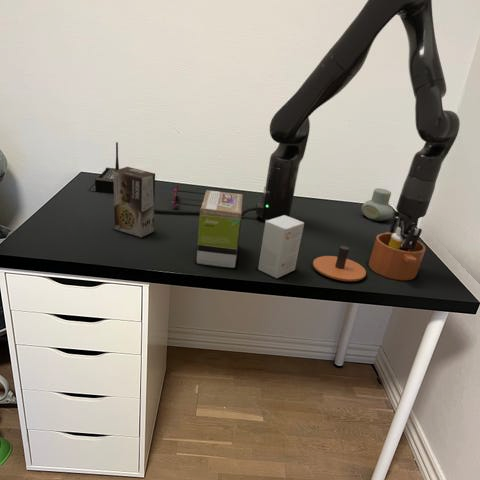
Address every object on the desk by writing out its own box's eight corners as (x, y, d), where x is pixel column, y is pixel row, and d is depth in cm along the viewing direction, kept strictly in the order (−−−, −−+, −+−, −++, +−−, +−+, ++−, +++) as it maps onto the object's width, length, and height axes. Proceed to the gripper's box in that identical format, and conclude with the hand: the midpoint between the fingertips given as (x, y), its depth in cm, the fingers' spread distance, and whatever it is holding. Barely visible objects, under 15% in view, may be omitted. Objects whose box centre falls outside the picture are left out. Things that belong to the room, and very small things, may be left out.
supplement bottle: (394, 269, 126) (406, 234, 121) (379, 261, 130) (389, 226, 125) (407, 266, 129) (420, 231, 124) (392, 258, 133) (403, 224, 128)
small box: (275, 261, 125) (284, 214, 118) (295, 270, 122) (305, 222, 115) (256, 269, 119) (264, 220, 112) (276, 279, 116) (286, 228, 109)
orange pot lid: (317, 280, 118) (323, 256, 115) (308, 257, 130) (313, 234, 127) (371, 285, 120) (379, 261, 116) (356, 262, 132) (363, 239, 128)
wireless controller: (101, 177, 168) (100, 126, 159) (141, 182, 169) (142, 132, 160) (86, 194, 151) (84, 138, 142) (130, 199, 152) (130, 144, 143)
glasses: (173, 197, 159) (174, 182, 157) (222, 202, 161) (223, 188, 159) (171, 211, 148) (171, 195, 145) (223, 216, 150) (225, 201, 147)
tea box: (201, 241, 130) (206, 188, 122) (237, 246, 130) (244, 193, 123) (195, 264, 117) (200, 206, 109) (235, 269, 118) (243, 212, 110)
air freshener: (355, 214, 169) (363, 187, 164) (369, 211, 174) (376, 185, 169) (381, 225, 163) (389, 196, 157) (394, 222, 168) (402, 194, 162)
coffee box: (154, 231, 132) (156, 173, 123) (141, 238, 127) (142, 178, 118) (127, 223, 134) (127, 165, 126) (113, 229, 129) (112, 169, 121)
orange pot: (379, 282, 122) (388, 254, 118) (360, 253, 138) (367, 227, 133) (427, 287, 123) (437, 259, 119) (402, 257, 139) (411, 232, 135)
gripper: (392, 185, 125) (375, 244, 134) (412, 202, 113) (391, 266, 122) (419, 188, 126) (400, 246, 135) (441, 205, 114) (418, 268, 123)
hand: (396, 255), depth 128 cm, fingers closed on supplement bottle, 5 cm apart
